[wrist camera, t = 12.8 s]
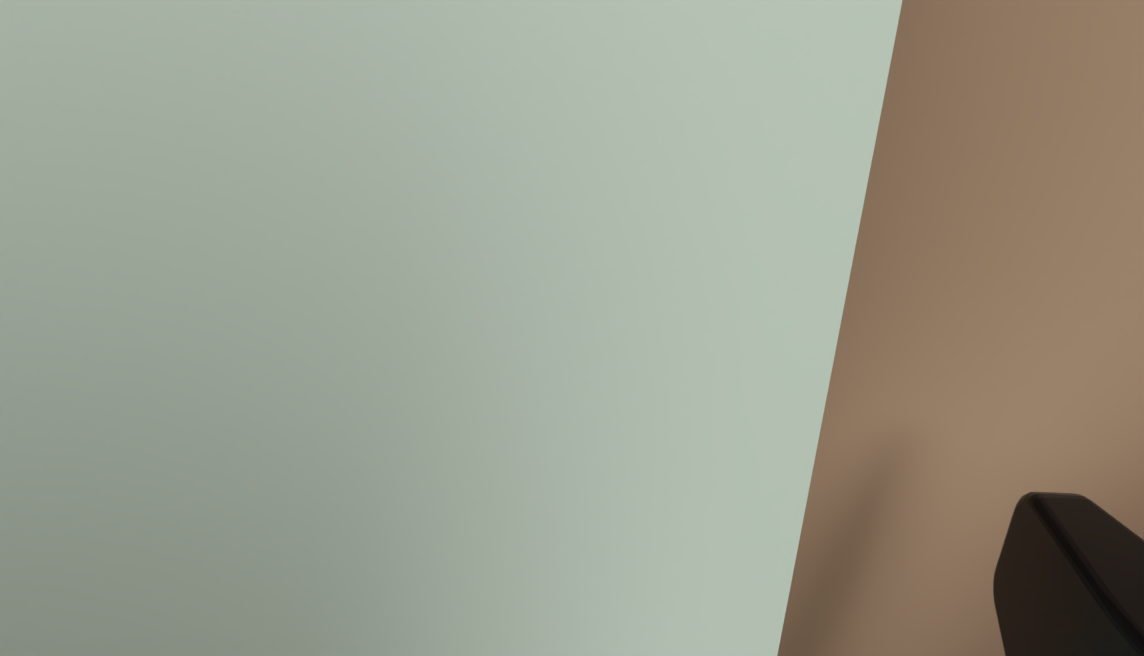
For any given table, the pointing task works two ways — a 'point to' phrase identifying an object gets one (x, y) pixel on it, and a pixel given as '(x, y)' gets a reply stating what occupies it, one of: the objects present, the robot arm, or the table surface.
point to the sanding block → (420, 319)
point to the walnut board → (980, 322)
